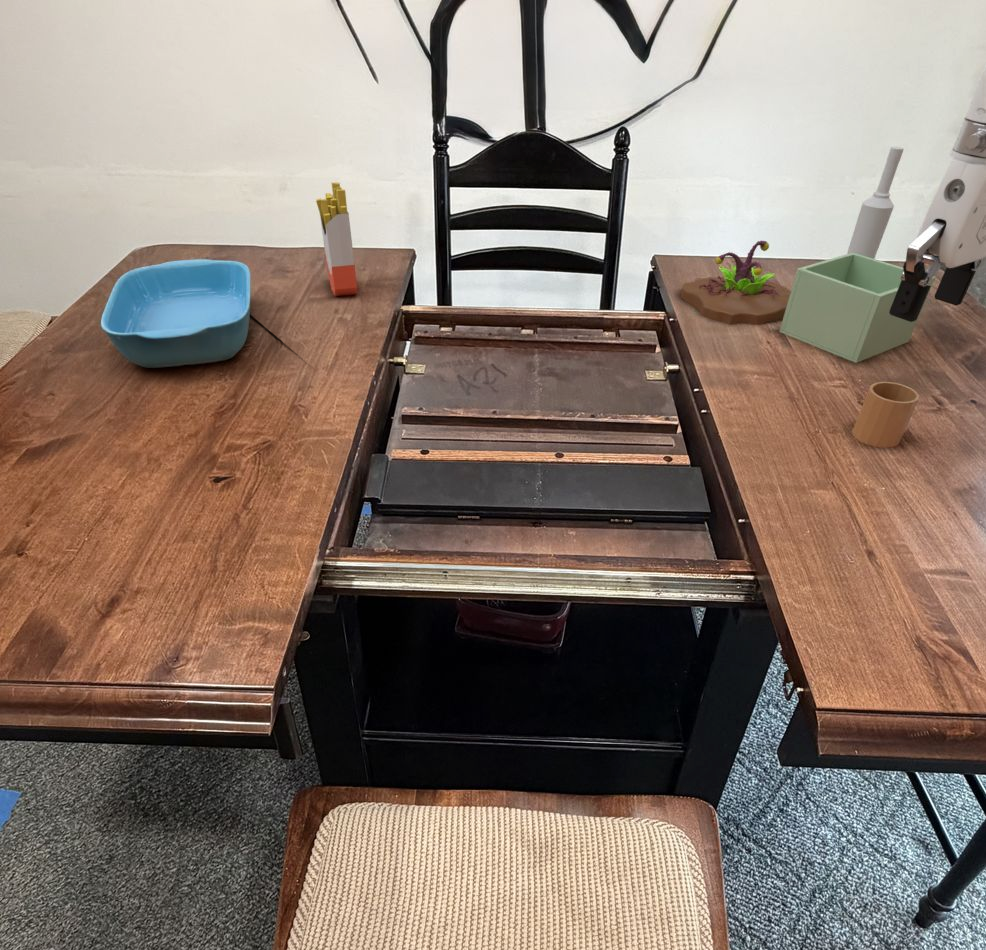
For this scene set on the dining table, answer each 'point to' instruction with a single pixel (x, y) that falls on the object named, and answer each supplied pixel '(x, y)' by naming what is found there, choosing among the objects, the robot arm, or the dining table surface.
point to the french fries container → (338, 241)
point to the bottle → (875, 211)
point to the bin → (847, 307)
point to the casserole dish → (180, 312)
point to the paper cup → (885, 414)
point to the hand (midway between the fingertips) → (924, 309)
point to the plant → (738, 293)
